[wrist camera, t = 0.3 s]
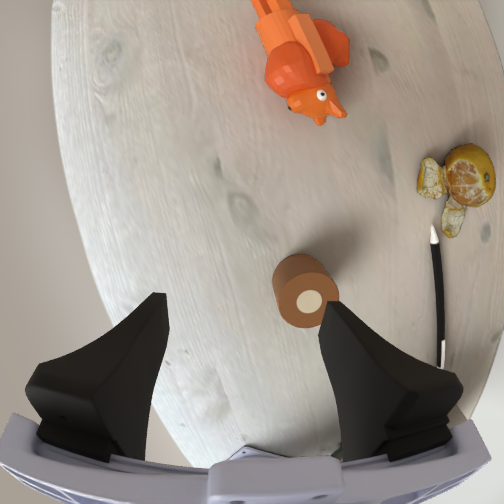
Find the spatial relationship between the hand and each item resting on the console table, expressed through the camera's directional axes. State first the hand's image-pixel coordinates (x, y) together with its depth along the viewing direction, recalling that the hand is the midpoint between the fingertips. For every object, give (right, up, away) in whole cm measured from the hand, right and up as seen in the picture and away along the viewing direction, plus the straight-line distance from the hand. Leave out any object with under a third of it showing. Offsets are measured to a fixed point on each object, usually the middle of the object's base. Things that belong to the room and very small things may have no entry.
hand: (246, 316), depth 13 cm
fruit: (+18, +9, +9) cm, 22 cm away
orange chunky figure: (+4, +18, +6) cm, 19 cm away
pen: (+19, -3, +13) cm, 23 cm away
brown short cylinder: (+4, +1, +11) cm, 12 cm away
